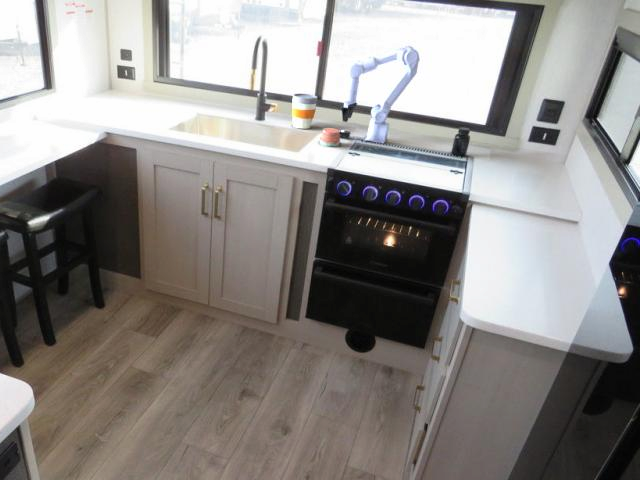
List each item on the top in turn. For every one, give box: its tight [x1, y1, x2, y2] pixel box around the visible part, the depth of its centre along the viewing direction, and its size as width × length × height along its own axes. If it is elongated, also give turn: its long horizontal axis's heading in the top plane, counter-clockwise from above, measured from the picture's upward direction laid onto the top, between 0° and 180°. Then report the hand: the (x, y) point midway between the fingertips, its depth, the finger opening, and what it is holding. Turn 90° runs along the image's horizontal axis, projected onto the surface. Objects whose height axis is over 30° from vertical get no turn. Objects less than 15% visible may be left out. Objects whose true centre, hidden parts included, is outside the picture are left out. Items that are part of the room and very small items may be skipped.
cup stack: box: [319, 127, 341, 148], centre depth 272 cm, size 9×9×6 cm
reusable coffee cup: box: [291, 93, 318, 130], centre depth 291 cm, size 12×13×15 cm
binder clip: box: [339, 129, 352, 140], centre depth 282 cm, size 5×3×3 cm, turn 68°
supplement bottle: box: [450, 127, 471, 157], centre depth 267 cm, size 7×7×12 cm
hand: (346, 119), depth 278 cm, fingers open, 7 cm apart
